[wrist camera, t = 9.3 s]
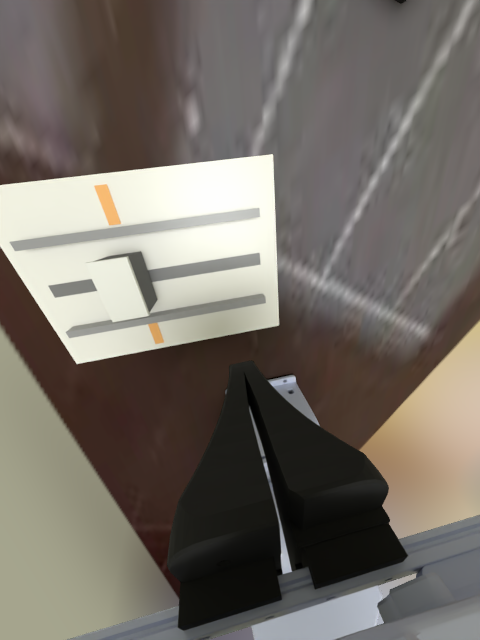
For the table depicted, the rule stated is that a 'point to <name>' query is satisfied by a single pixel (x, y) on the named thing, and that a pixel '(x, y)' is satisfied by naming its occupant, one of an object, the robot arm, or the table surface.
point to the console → (149, 251)
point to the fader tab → (123, 285)
